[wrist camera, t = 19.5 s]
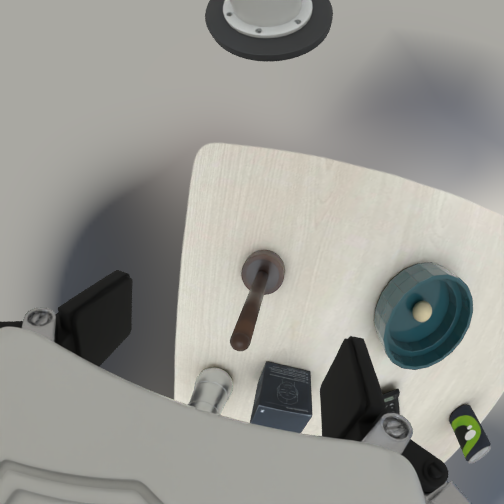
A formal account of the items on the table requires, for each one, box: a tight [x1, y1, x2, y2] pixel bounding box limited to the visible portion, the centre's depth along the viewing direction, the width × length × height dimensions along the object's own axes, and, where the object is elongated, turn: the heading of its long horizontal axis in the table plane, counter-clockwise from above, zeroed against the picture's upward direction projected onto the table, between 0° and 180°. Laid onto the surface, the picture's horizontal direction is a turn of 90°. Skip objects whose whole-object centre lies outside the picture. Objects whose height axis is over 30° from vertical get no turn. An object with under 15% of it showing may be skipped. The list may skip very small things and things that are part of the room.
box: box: [250, 361, 312, 433], centre depth 38 cm, size 8×6×11 cm
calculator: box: [383, 389, 400, 415], centre depth 41 cm, size 9×12×3 cm
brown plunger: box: [230, 250, 284, 351], centre depth 29 cm, size 6×6×19 cm
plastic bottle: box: [188, 368, 233, 415], centre depth 35 cm, size 6×7×20 cm
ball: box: [413, 301, 432, 322], centre depth 34 cm, size 3×3×3 cm
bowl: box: [374, 263, 473, 370], centre depth 34 cm, size 15×15×6 cm
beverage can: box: [449, 405, 491, 464], centre depth 33 cm, size 6×6×15 cm
